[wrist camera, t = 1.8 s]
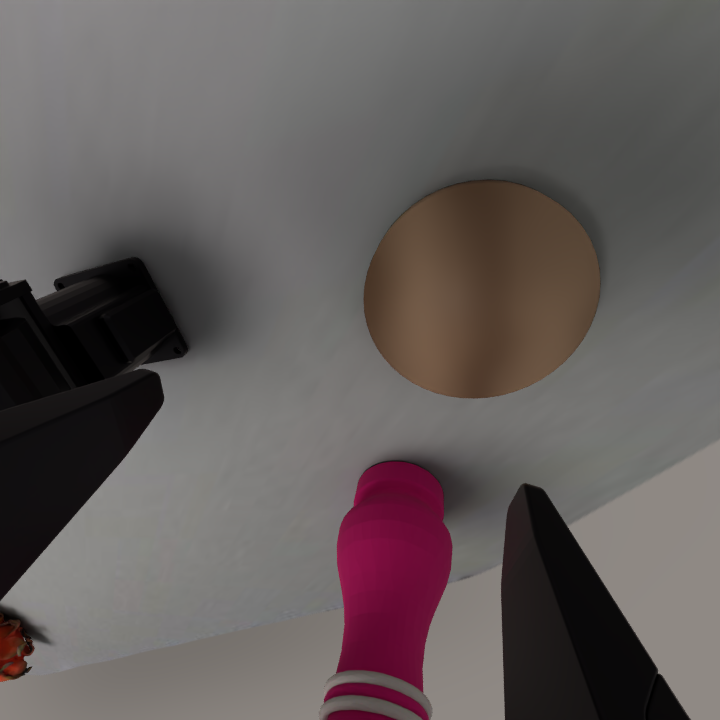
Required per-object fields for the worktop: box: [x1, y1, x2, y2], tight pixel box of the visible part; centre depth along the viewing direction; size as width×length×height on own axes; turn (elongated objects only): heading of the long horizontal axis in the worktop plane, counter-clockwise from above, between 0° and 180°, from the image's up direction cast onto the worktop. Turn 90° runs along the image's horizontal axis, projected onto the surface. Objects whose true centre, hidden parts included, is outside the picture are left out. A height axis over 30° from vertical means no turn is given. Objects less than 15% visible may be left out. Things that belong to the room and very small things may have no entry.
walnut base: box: [364, 180, 600, 398], centre depth 20 cm, size 11×11×2 cm
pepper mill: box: [319, 461, 452, 720], centre depth 20 cm, size 7×7×20 cm
